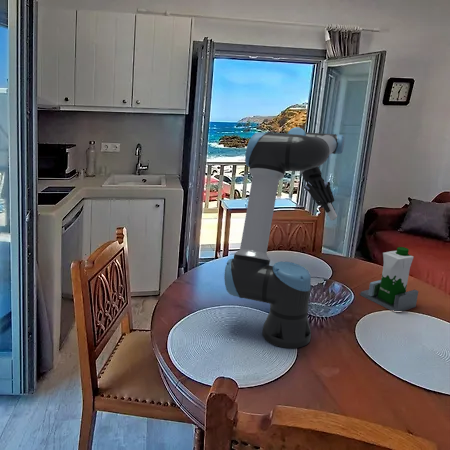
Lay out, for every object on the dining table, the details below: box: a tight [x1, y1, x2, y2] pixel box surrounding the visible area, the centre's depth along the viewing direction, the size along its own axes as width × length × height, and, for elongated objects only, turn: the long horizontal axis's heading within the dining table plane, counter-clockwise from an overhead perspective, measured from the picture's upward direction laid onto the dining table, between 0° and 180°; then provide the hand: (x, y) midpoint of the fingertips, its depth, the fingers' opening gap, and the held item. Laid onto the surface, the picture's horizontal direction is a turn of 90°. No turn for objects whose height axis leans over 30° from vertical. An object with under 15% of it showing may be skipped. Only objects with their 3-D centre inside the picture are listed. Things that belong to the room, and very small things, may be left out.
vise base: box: [360, 289, 419, 312], centre depth 167 cm, size 17×11×6 cm, turn 32°
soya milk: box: [377, 246, 415, 304], centre depth 163 cm, size 9×9×20 cm
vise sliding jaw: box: [368, 279, 381, 296], centre depth 170 cm, size 2×11×5 cm, turn 122°
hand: (334, 218), depth 174 cm, fingers closed
